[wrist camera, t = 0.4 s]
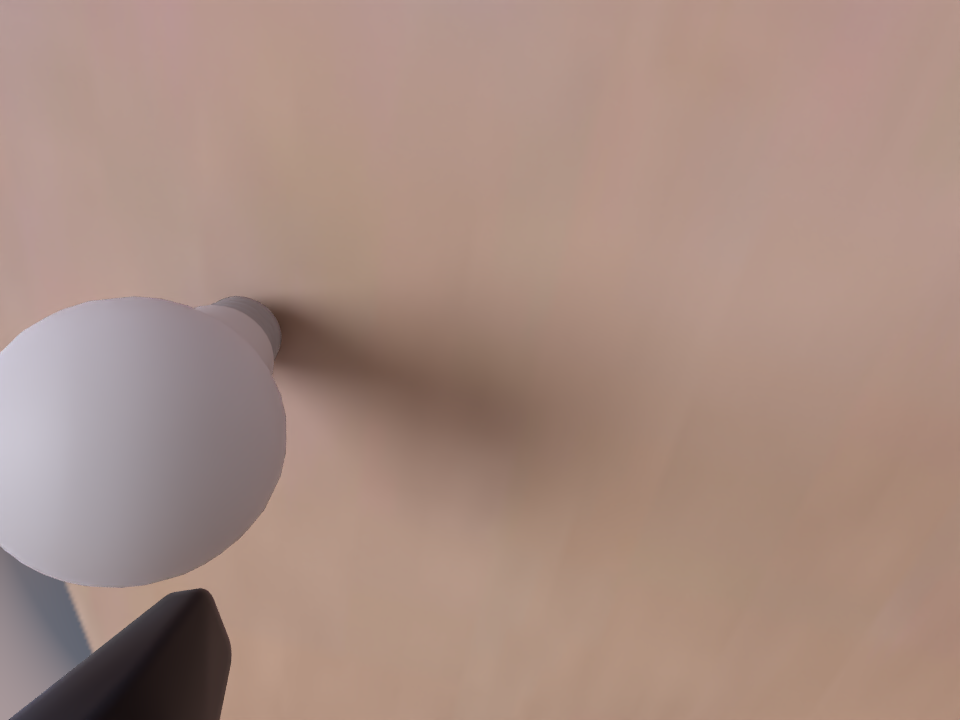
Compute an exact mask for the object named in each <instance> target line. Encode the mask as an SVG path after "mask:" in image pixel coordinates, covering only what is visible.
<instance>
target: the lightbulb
mask: <svg viewBox="0 0 960 720" xmlns="http://www.w3.org/2000/svg"><path fill="white" fill-rule="evenodd" d="M280 345H281V330H280V326H279V324H278V321H277V319H276V318H275V316H274V315H273V313H272V312H271V311H270V310H269V309H268V308H267V307H266V306H264V305H263V304H261V303H260V302H258V301H256V300H253V299H251V298H247V297H239V296H235V297H228V298H225V299H222V300H220V301H218V302H216V303H214V304H211V305H207V306H199V307H196V308H192V307H190V306H188V305H184V304H180V303H176V302H172V301H168V300H165V299H159V298H147V297H124V298H114V299H105V300H96V301H88V302H85V303H81V304H78V305H75V306H72V307H69V308H66V309H63V310H60V311H58V312H56V313H54V314H52V315H50V316H48V317H46V318H44V319H43V320H41V321H39V322H37V323H36V324H34V325H32V326H31V327H29V328H27V329H26V330H24V331H22V332H21V333H20V334H19V335H18V336H17V337H16V338H15V339H14V340H13V341H12V342H11V343H10V344H9V345H8V346H7V347H6V348H5V349H4V350H3V351H2V352H1V353H0V546H1V547H2V548H3V549H4V550H5V551H6V552H8V553H9V554H10V555H12V556H13V557H15V558H16V559H17V560H19V561H20V562H22V563H23V564H25V565H27V566H28V567H31V568H32V569H34V570H36V571H38V572H40V573H42V574H44V575H47V576H50V577H52V578H55V579H58V580H61V581H64V582H68V583H73V584H78V585H83V586H95V587H118V588H123V587H132V586H141V585H147V584H151V583H155V582H159V581H163V580H166V579H170V578H173V577H177V576H180V575H184V574H186V573H188V572H190V571H192V570H194V569H196V568H198V567H200V566H202V565H204V564H206V563H207V562H209V561H210V560H212V559H213V558H215V557H216V556H218V555H219V554H221V553H222V552H223V551H225V550H226V549H227V548H228V547H230V546H231V545H232V544H233V543H235V542H236V541H237V540H238V539H239V538H240V537H241V536H242V535H243V534H244V533H245V532H246V531H247V530H248V529H249V528H250V527H251V525H252V524H253V523H254V522H255V521H256V519H257V518H258V517H259V516H260V514H261V513H262V512H263V511H264V509H265V507H266V505H267V503H268V501H269V499H270V497H271V495H272V493H273V491H274V489H275V487H276V484H277V482H278V480H279V478H280V476H281V472H282V467H283V463H284V458H285V454H286V415H285V410H284V406H283V402H282V397H281V394H280V391H279V389H278V387H277V385H276V383H275V381H274V378H273V376H272V374H273V369H274V360H275V358H276V356H277V354H278V351H279V349H280Z"/></svg>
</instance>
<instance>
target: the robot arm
mask: <svg viewBox="0 0 960 720" xmlns="http://www.w3.org/2000/svg"><path fill="white" fill-rule="evenodd" d="M230 665H231V645H230V641H229V638H228V635H227V632H226V630H225V627H224V625H223V622H222V619H221V617H220V614H219V612H218V609H217V607H216V604H215V601H214V599H213V597H212V595H211V594H210V593H209V591H207V590H205V589H202V588H199V589H192V590H186V591H179V592H174V593H170V594H168V595H167V596H165V597H164V598H162V599H161V600H160V601H159V602H157V603H156V604H155V605H154V606H152V607H151V608H150V609H149V610H147V611H146V612H145V613H143V614H142V615H141V616H140V617H138V618H137V619H136V620H135V621H133V622H132V623H131V624H129V625H128V626H127V627H126V628H124V629H123V630H122V631H121V632H119V633H118V634H117V635H115V636H114V637H113V638H112V639H110V640H109V641H108V642H107V643H105V644H104V645H103V646H102V647H100V648H99V649H98V650H96V651H95V652H94V653H93V654H91V655H90V656H89V657H88V658H87V659H85V660H84V661H82V662H81V663H80V664H79V665H77V666H76V667H75V668H74V669H72V670H71V671H70V672H69V673H67V674H66V675H65V676H64V677H62V678H61V679H60V680H58V681H57V682H56V683H55V684H53V685H52V686H51V687H49V688H48V689H47V690H46V691H44V692H43V693H42V694H41V695H40V696H38V697H37V698H35V699H34V700H33V701H32V702H30V703H29V704H28V705H27V706H25V707H24V708H23V709H22V710H20V711H19V712H18V713H16V714H15V715H14V716H13V717H11V718H10V719H9V720H220V715H221V710H222V705H223V700H224V695H225V690H226V685H227V680H228V675H229V670H230Z"/></svg>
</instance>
